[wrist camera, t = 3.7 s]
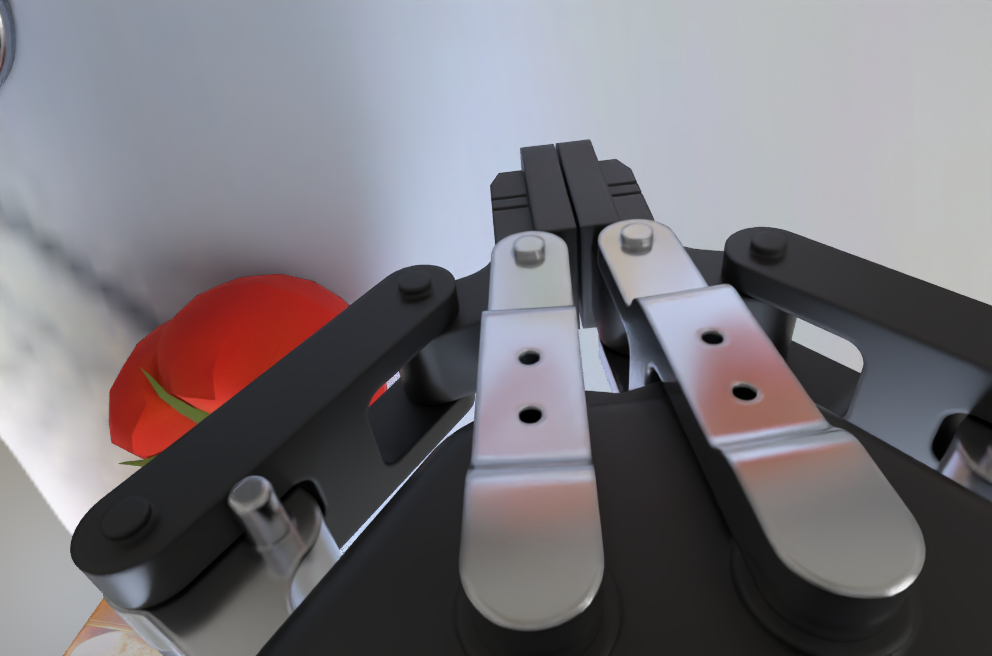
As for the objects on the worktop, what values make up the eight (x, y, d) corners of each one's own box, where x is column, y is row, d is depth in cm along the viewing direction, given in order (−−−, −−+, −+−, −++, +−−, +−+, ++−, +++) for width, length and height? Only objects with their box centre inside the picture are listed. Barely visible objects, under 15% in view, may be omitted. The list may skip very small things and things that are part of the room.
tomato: (432, 297, 39) (390, 417, 28) (359, 464, 45) (304, 609, 35) (212, 205, 37) (83, 297, 27) (170, 393, 44) (53, 525, 33)
